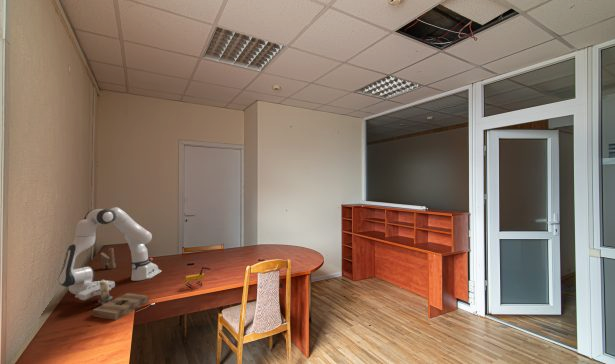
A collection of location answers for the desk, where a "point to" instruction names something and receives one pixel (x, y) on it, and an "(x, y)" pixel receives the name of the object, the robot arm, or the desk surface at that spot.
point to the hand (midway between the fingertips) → (105, 291)
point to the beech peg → (104, 293)
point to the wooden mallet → (105, 260)
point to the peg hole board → (120, 306)
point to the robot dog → (193, 277)
